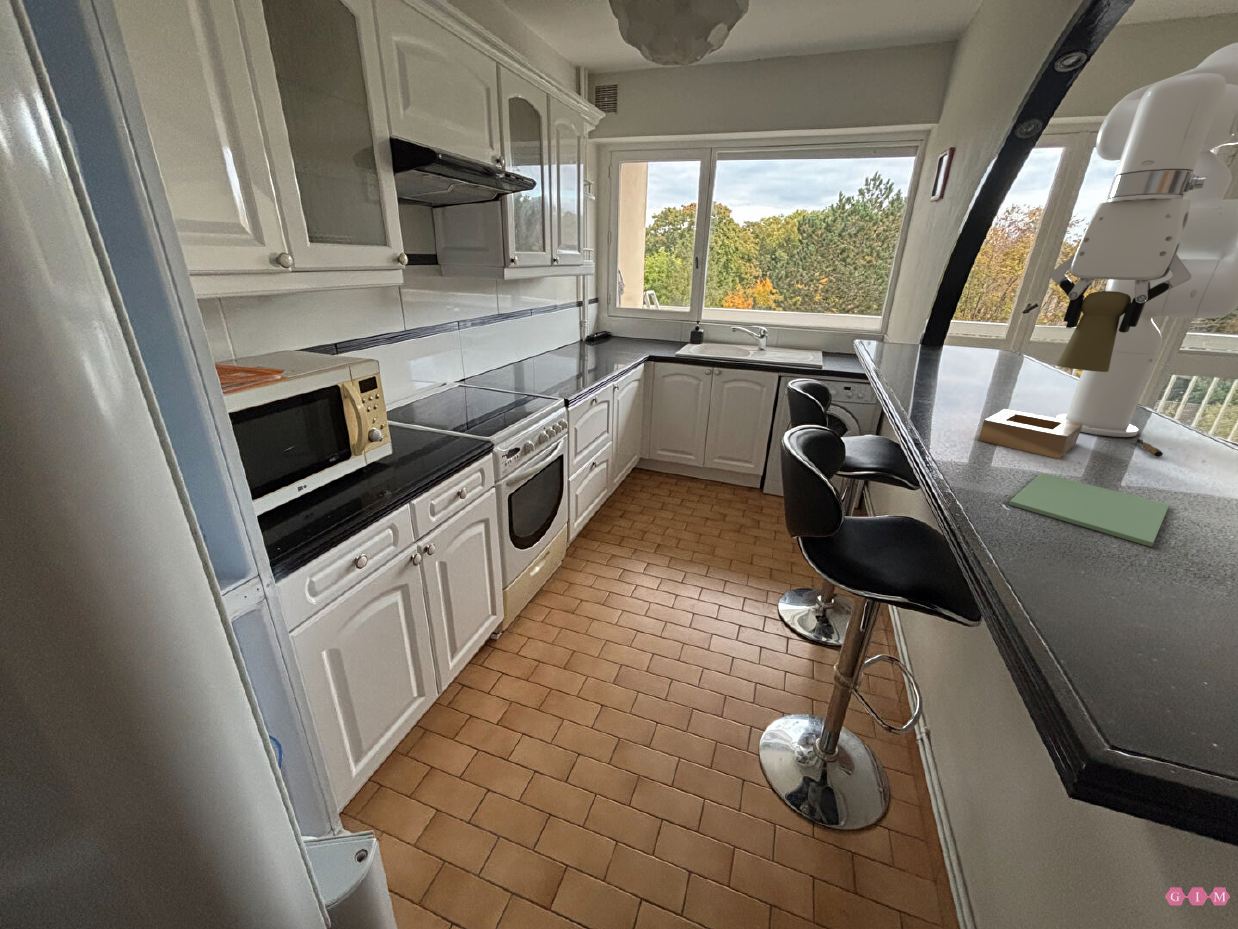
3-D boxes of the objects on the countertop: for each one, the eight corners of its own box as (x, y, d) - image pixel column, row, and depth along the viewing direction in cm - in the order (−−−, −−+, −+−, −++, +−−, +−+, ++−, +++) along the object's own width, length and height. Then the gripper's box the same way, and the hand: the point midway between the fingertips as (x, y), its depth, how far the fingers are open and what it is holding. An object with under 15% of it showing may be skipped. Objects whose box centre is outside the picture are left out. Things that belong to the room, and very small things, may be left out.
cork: (1118, 373, 73) (1150, 292, 69) (1071, 369, 74) (1100, 289, 70) (1091, 367, 78) (1119, 292, 75) (1047, 363, 79) (1073, 289, 76)
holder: (998, 428, 101) (1004, 408, 99) (1075, 444, 92) (1083, 423, 91) (978, 440, 94) (984, 419, 92) (1059, 458, 85) (1067, 436, 84)
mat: (1040, 476, 78) (1041, 472, 78) (1167, 508, 68) (1169, 504, 68) (1008, 504, 68) (1009, 500, 68) (1151, 547, 59) (1153, 542, 58)
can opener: (1161, 458, 86) (1164, 452, 85) (1143, 455, 87) (1145, 449, 86) (1146, 444, 93) (1149, 438, 92) (1129, 441, 94) (1132, 435, 94)
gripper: (1244, 187, 64) (1182, 334, 70) (1072, 198, 76) (1032, 322, 83) (1242, 180, 59) (1175, 338, 66) (1059, 192, 72) (1018, 325, 78)
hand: (1096, 328), depth 74 cm, fingers closed on cork, 5 cm apart
